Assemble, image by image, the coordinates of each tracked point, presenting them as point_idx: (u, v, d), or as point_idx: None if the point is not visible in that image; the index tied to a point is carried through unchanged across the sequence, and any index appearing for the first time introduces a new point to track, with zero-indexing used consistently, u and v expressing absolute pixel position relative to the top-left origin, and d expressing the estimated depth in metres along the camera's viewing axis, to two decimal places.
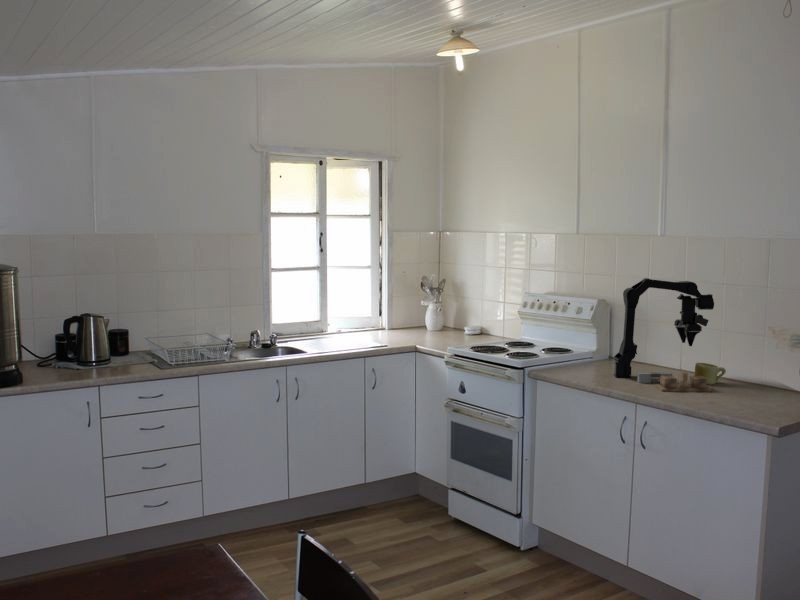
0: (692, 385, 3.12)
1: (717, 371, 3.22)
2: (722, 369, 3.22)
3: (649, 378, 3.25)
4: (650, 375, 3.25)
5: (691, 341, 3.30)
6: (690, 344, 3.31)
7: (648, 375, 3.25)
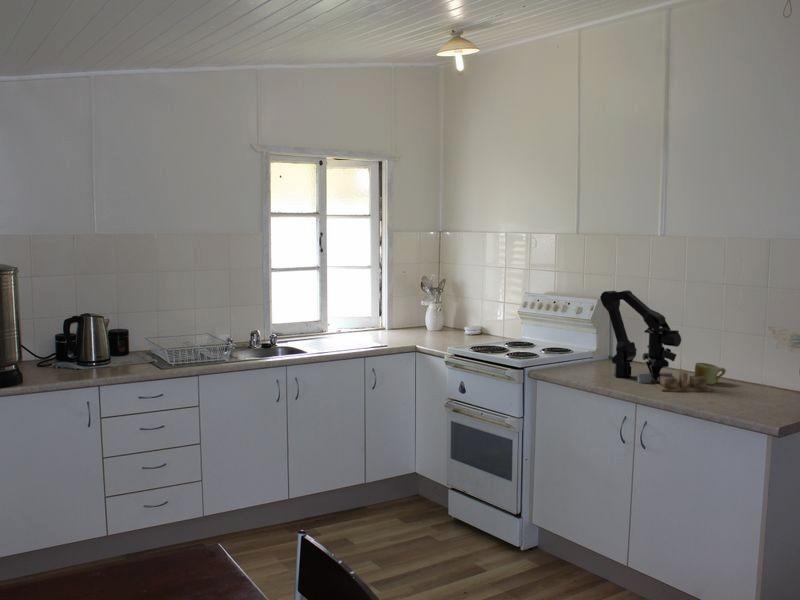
0: (692, 385, 3.12)
1: (717, 371, 3.22)
2: (722, 369, 3.22)
3: (649, 378, 3.25)
4: (650, 375, 3.25)
5: (656, 375, 3.24)
6: (655, 378, 3.24)
7: (648, 375, 3.25)
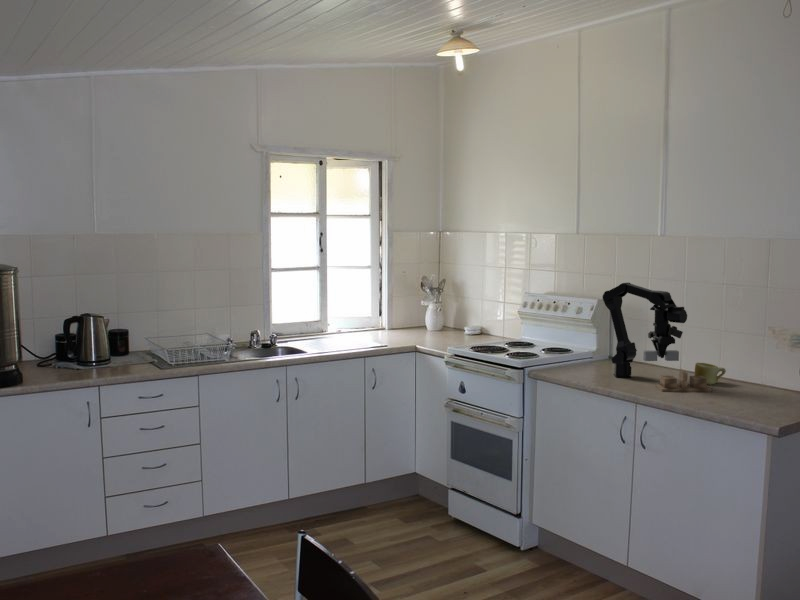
0: (692, 385, 3.12)
1: (717, 371, 3.22)
2: (722, 369, 3.22)
3: (655, 356, 3.21)
4: (656, 353, 3.21)
5: (663, 353, 3.20)
6: (662, 356, 3.21)
7: (654, 353, 3.21)
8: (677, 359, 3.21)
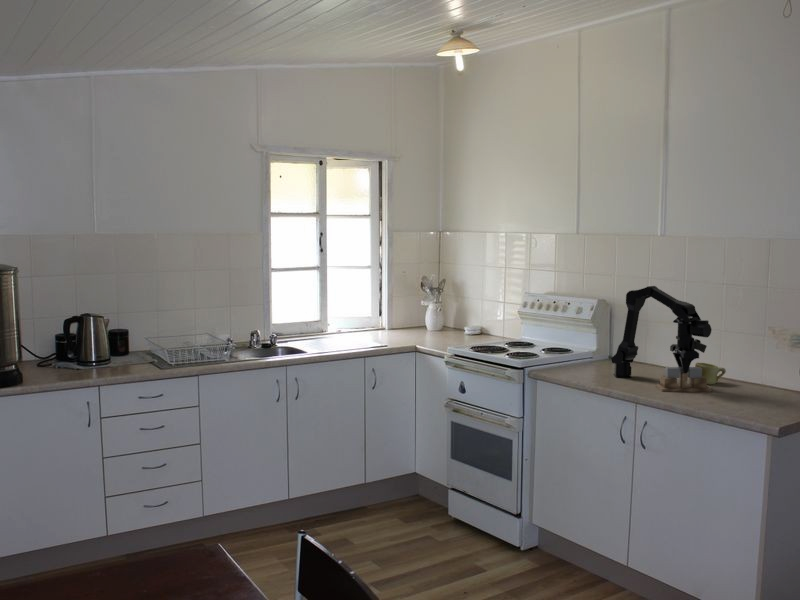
0: (692, 385, 3.12)
1: (717, 371, 3.22)
2: (722, 369, 3.22)
3: (678, 373, 3.11)
4: (679, 370, 3.11)
5: (686, 368, 3.09)
6: (685, 371, 3.09)
7: (677, 370, 3.11)
8: (700, 376, 3.11)
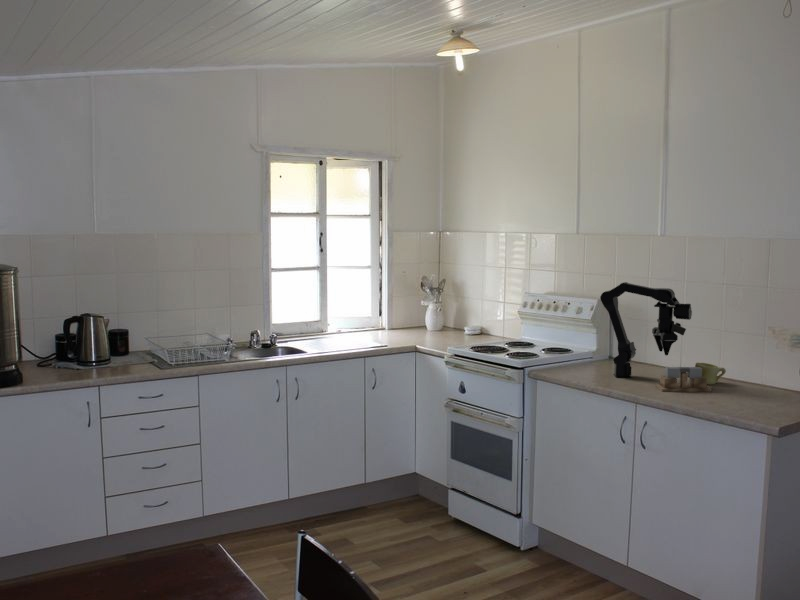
0: (692, 385, 3.12)
1: (717, 371, 3.22)
2: (722, 369, 3.22)
3: (678, 373, 3.11)
4: (679, 370, 3.11)
5: (667, 350, 3.23)
6: (666, 353, 3.23)
7: (677, 370, 3.11)
8: (700, 376, 3.11)
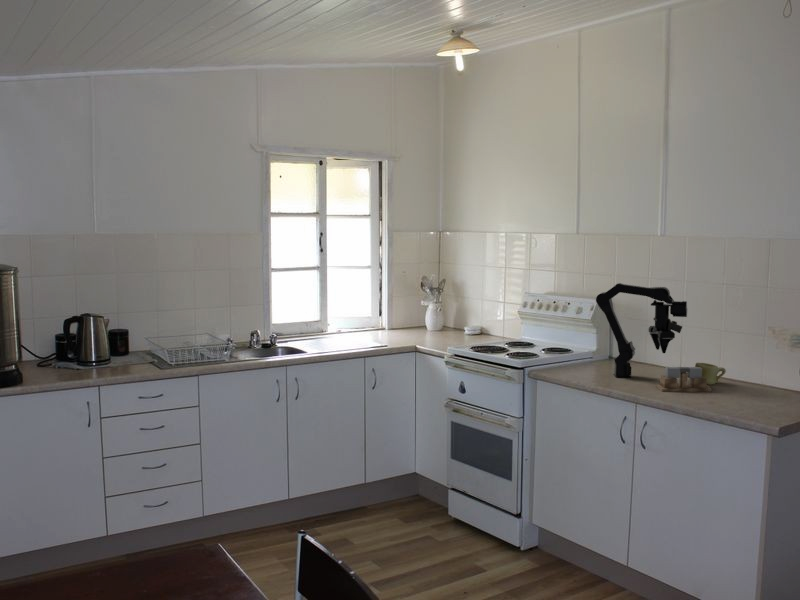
0: (692, 385, 3.12)
1: (717, 371, 3.22)
2: (722, 369, 3.22)
3: (678, 373, 3.11)
4: (679, 370, 3.11)
5: (664, 348, 3.25)
6: (663, 351, 3.26)
7: (677, 370, 3.11)
8: (700, 376, 3.11)
